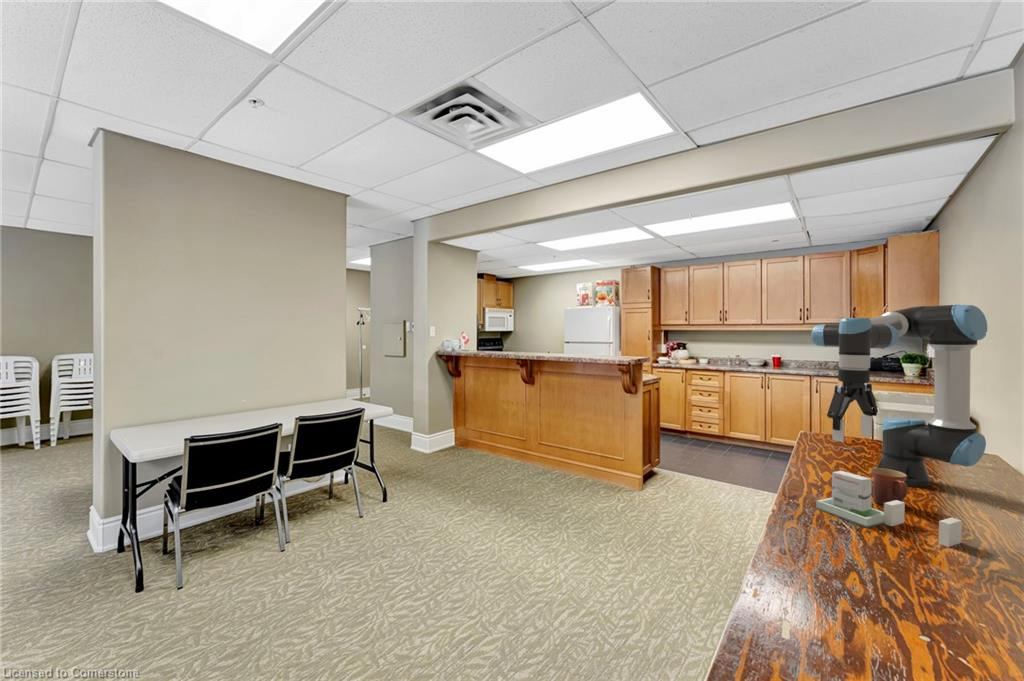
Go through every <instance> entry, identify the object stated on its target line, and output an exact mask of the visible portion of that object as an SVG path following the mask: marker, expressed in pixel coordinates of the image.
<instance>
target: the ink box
mask: <svg viewBox="0 0 1024 681" xmlns="http://www.w3.org/2000/svg"><path fill="white" fill-rule="evenodd" d="M831 476H832V477H831V497H832V505H833V506H836V507H839V508H841V509H844V510H847V511H850V512H852V513H855V514H858V515H861V516H863V517H868V516H871V508H872V478H869V477H866V476H862V475H858V474H855V473H852V472H851V473H850V472H848V471H844V470H837V471H832V472H831Z"/></svg>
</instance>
